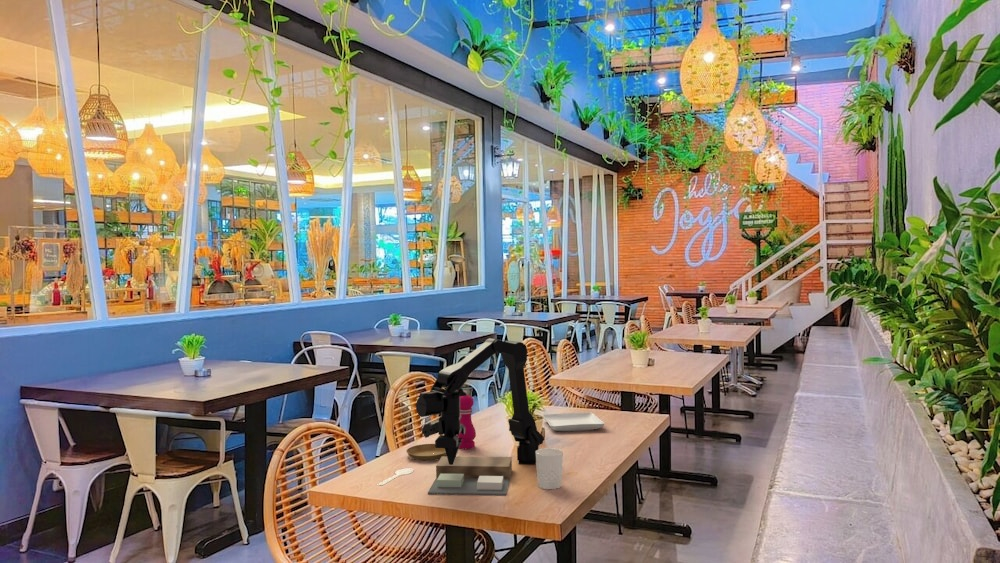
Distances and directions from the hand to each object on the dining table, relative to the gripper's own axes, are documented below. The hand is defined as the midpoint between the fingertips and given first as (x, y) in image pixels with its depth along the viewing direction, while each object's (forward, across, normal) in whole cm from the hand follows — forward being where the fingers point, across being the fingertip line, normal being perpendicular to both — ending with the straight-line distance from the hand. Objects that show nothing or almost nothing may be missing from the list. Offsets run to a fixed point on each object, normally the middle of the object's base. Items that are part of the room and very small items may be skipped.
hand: (451, 464), depth 203 cm
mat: (+5, +5, +6) cm, 10 cm away
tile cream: (+2, +6, +12) cm, 14 cm away
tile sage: (+2, +4, 0) cm, 5 cm away
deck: (+5, -7, +6) cm, 10 cm away
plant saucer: (+5, -26, -12) cm, 29 cm away
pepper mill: (+5, -38, -1) cm, 38 cm away
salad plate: (+5, -70, +37) cm, 79 cm away
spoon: (+6, -4, -18) cm, 19 cm away
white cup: (+5, +3, +29) cm, 30 cm away
